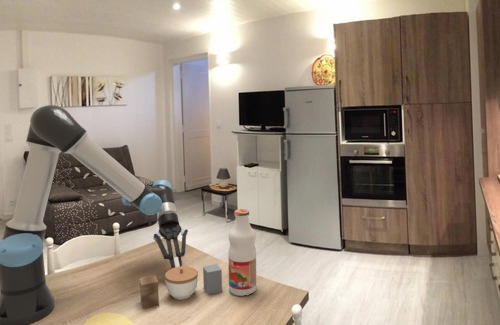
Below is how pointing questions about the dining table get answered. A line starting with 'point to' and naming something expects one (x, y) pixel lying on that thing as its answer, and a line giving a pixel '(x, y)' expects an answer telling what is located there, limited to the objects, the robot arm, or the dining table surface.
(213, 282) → the grey block
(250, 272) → the fruit juice
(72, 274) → the dining table surface
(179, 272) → the lidded jar
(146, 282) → the walnut block
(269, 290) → the dining table surface
